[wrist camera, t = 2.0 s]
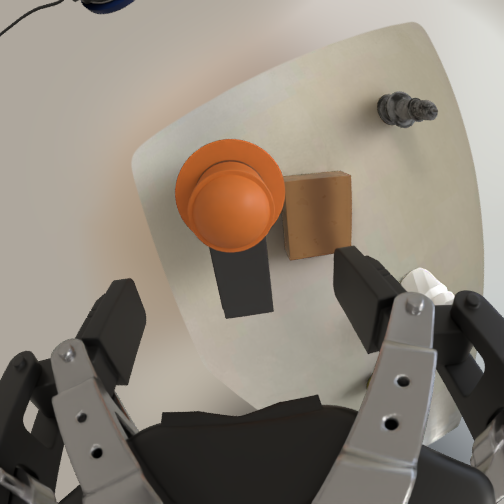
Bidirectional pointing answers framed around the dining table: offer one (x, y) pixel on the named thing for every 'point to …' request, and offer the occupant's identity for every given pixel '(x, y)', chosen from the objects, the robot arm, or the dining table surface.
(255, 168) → the hat
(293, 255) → the stand
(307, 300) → the dining table surface
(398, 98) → the chess piece
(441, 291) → the vase
